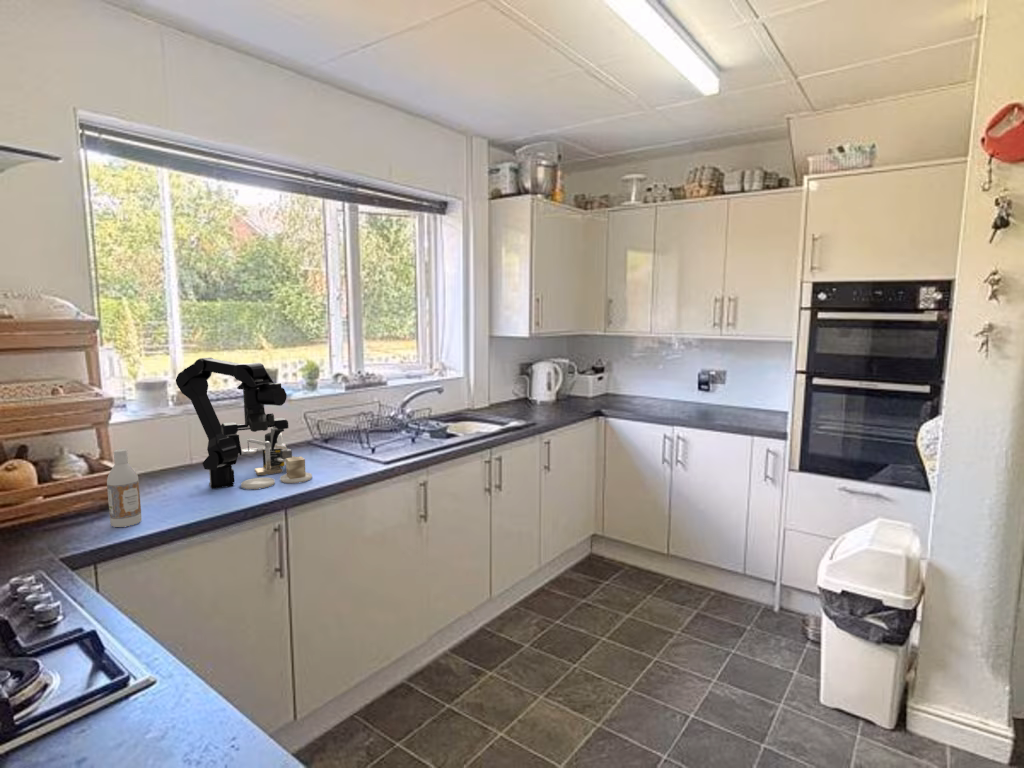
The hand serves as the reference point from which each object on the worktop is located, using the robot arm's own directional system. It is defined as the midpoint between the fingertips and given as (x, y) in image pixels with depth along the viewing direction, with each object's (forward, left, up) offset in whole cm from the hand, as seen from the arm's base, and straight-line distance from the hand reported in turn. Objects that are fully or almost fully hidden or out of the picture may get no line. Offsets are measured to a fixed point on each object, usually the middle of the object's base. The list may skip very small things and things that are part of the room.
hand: (256, 453), depth 183 cm
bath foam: (-35, -12, -12) cm, 39 cm away
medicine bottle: (+11, +29, -12) cm, 33 cm away
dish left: (+1, +6, -12) cm, 13 cm away
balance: (+7, +20, -12) cm, 24 cm away
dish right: (+13, +6, -12) cm, 19 cm away
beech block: (+13, +6, -11) cm, 18 cm away
